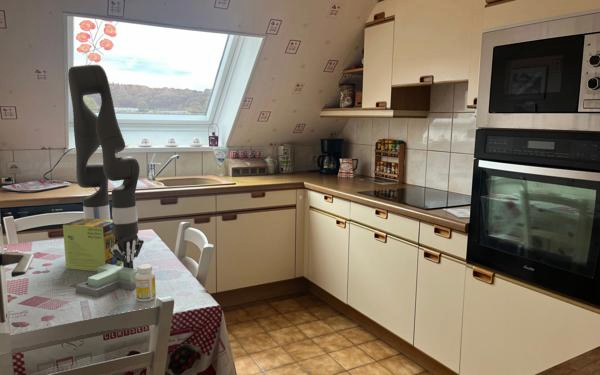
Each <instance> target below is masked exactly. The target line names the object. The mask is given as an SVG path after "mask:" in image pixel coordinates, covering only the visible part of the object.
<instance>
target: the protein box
mask: <svg viewBox="0 0 600 375" xmlns="http://www.w3.org/2000/svg"><path fill="white" fill-rule="evenodd" d="M62 229H63V230H62V233H63V245H64V256H65V269H67V270H79V271H80V270H81V271H91V272H98V268H97V267H100V266H103V265H106V264H111V265H116V266H119V265H120V264H123V262H122V261H117V259H116V258H115V257H114V256H113V255H112V254H111V253H110V252H109V249H110V248H113V247H114V245H115V236H114V234H113V220H112V219H110V220H108V219H87V218H84V217H83V218H79V219H77V220H73V221H69V222H67V223H64V224H62Z"/></svg>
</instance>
